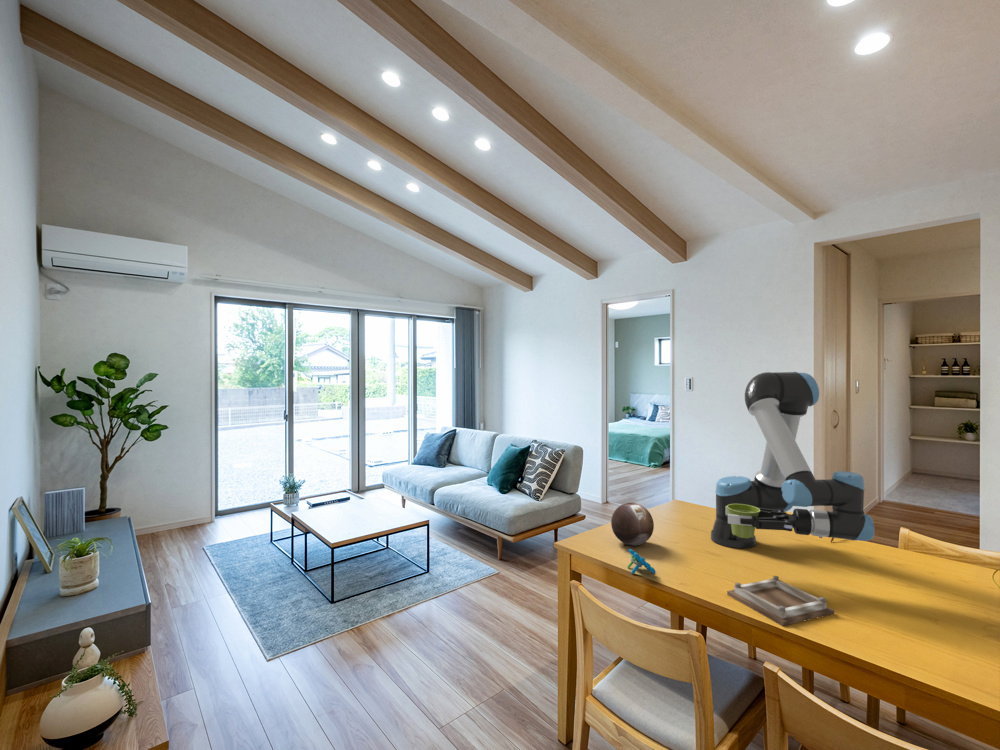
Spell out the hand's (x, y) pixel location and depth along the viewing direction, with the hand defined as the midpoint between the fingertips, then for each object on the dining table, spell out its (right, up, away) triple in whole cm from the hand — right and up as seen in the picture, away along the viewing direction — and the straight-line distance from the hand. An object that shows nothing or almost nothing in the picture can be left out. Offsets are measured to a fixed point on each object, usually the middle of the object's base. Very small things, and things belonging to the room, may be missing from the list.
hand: (726, 514), depth 155 cm
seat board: (+4, -18, -22) cm, 28 cm away
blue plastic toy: (-27, -18, -1) cm, 33 cm away
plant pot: (+4, -6, -2) cm, 8 cm away
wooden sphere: (-24, -18, +24) cm, 38 cm away
